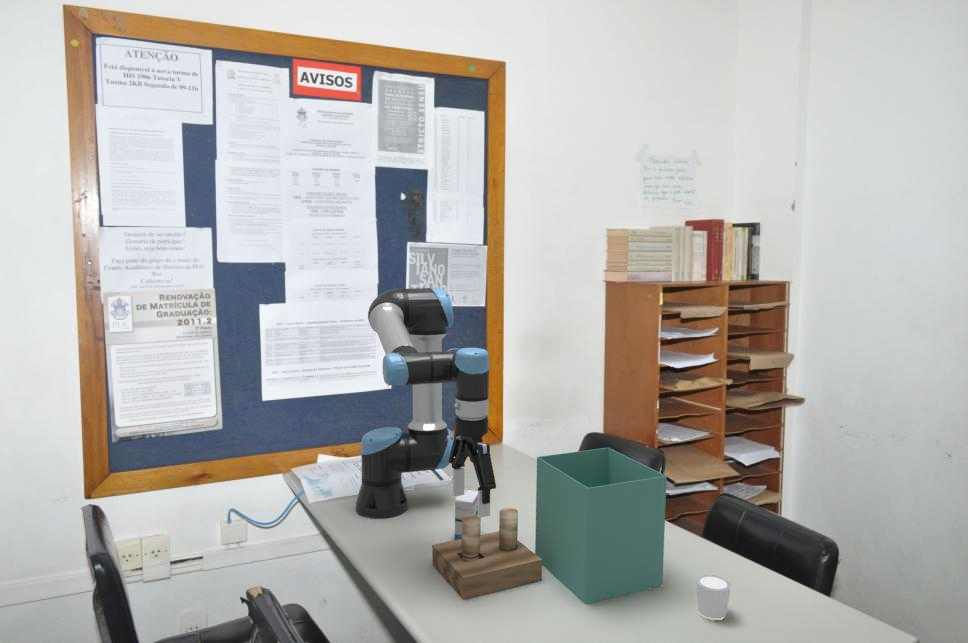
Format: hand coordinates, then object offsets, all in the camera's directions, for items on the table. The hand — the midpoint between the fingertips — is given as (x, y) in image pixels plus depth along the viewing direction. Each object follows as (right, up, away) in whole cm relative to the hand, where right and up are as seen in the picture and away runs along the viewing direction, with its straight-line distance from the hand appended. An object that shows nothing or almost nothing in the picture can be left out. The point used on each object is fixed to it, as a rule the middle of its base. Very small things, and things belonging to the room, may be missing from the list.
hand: (470, 505), depth 156 cm
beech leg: (0, -17, +2) cm, 17 cm away
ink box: (-1, -15, +22) cm, 27 cm away
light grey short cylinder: (+51, -19, -14) cm, 57 cm away
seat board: (+4, -17, +3) cm, 17 cm away
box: (+30, -17, +4) cm, 35 cm away
